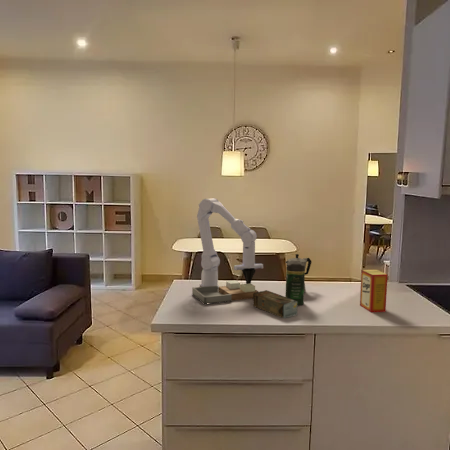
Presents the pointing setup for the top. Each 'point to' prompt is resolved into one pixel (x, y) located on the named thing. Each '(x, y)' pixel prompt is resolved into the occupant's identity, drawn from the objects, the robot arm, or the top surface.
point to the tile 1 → (233, 284)
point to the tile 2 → (247, 287)
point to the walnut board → (236, 293)
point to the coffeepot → (303, 263)
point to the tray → (210, 294)
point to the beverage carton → (275, 303)
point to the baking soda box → (373, 290)
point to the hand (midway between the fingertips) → (248, 284)
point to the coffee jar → (295, 281)
